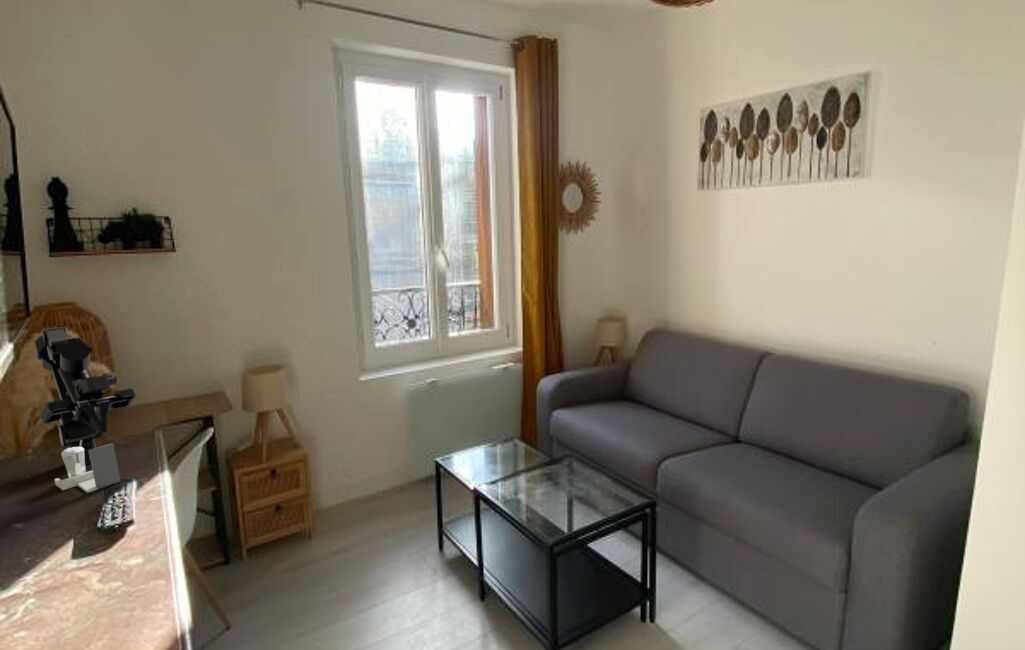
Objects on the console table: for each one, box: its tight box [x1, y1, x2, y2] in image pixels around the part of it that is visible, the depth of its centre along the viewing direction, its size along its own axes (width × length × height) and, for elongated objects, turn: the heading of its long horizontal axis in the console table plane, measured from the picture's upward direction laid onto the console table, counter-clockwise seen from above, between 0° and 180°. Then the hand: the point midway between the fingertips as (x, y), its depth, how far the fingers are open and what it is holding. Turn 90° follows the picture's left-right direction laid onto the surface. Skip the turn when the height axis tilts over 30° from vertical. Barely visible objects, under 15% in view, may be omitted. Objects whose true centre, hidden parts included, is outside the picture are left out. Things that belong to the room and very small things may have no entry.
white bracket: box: [54, 443, 121, 494], centre depth 138 cm, size 13×10×10 cm
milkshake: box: [61, 440, 87, 478], centre depth 140 cm, size 4×5×10 cm
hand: (104, 432), depth 135 cm, fingers closed
